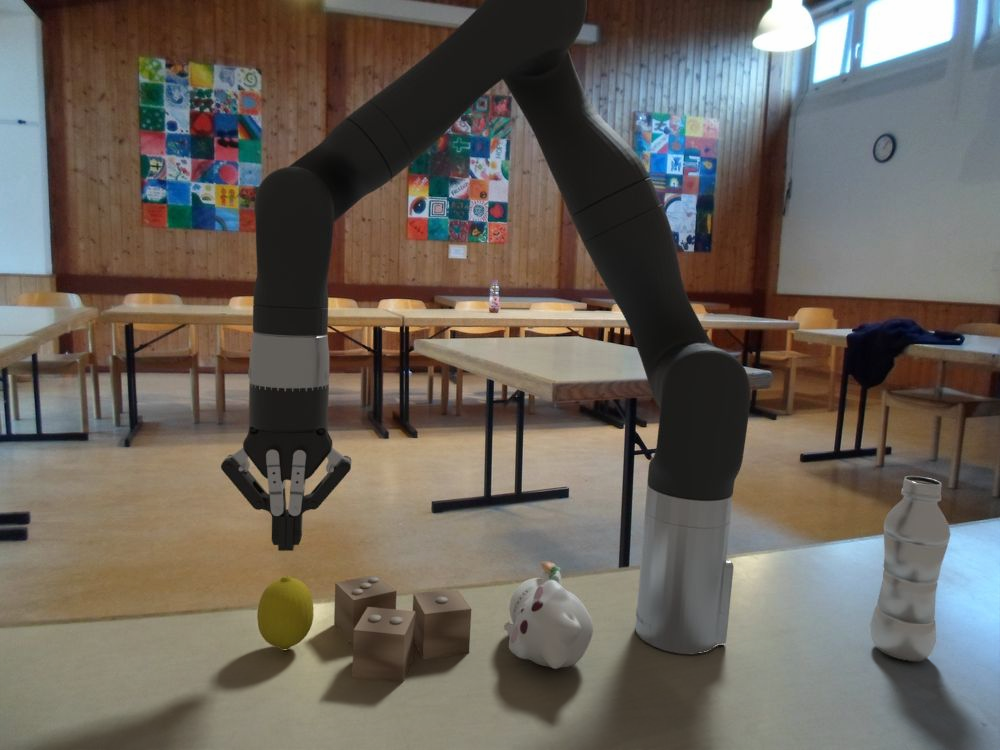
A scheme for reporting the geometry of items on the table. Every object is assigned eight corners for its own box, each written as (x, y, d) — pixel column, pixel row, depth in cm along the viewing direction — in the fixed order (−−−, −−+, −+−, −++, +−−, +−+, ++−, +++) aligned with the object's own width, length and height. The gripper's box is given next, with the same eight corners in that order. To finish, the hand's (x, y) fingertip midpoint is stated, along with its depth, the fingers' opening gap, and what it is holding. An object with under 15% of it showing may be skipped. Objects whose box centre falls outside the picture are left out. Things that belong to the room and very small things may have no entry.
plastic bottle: (929, 648, 83) (952, 478, 80) (936, 676, 77) (962, 493, 74) (866, 634, 85) (887, 469, 83) (868, 659, 79) (891, 482, 77)
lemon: (297, 667, 71) (298, 590, 70) (246, 659, 73) (247, 583, 71) (321, 641, 77) (323, 569, 76) (274, 633, 78) (275, 562, 77)
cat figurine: (528, 541, 83) (562, 580, 69) (584, 576, 85) (630, 621, 70) (483, 613, 83) (508, 668, 68) (541, 647, 84) (577, 708, 69)
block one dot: (455, 631, 81) (457, 587, 80) (469, 653, 76) (471, 606, 75) (411, 636, 79) (413, 591, 78) (422, 660, 74) (424, 612, 74)
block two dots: (413, 656, 75) (415, 609, 74) (402, 683, 70) (404, 632, 69) (366, 652, 75) (367, 605, 75) (352, 678, 70) (353, 627, 70)
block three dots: (375, 615, 83) (376, 572, 83) (394, 634, 79) (396, 589, 79) (334, 625, 81) (335, 580, 80) (352, 645, 77) (353, 598, 76)
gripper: (359, 376, 76) (353, 534, 78) (226, 371, 74) (225, 535, 76) (357, 387, 69) (352, 561, 71) (210, 382, 66) (209, 563, 68)
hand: (286, 547), depth 73 cm, fingers closed
